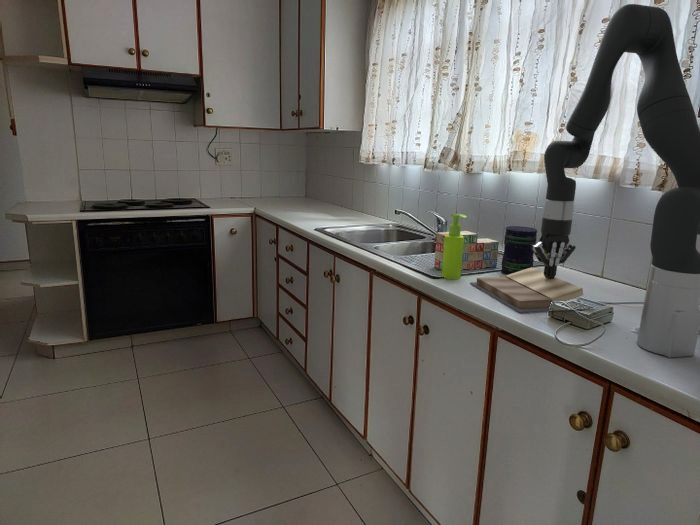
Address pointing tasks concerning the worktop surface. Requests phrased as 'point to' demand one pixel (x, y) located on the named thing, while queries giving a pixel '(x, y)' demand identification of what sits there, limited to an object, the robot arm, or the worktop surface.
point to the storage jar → (518, 249)
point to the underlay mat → (523, 310)
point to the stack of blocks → (470, 251)
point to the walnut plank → (513, 292)
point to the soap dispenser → (453, 250)
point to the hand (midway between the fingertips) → (549, 277)
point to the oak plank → (546, 285)
